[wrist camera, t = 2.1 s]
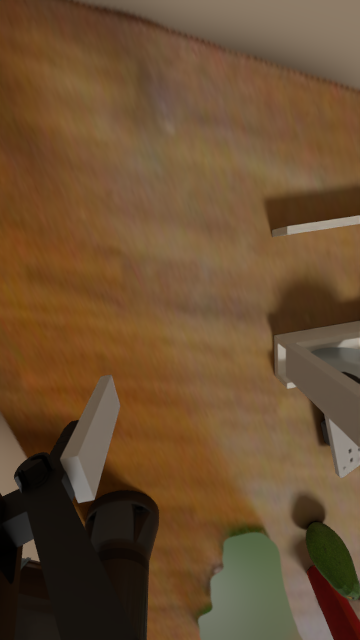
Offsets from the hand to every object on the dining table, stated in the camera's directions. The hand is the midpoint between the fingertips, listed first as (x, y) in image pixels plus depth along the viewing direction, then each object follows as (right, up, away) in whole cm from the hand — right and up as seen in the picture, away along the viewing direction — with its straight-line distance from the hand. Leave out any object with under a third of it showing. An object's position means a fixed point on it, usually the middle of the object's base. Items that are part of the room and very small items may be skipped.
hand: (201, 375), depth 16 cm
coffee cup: (+36, -64, +42) cm, 84 cm away
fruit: (+31, -46, +37) cm, 67 cm away
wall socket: (+26, -19, +29) cm, 43 cm away
